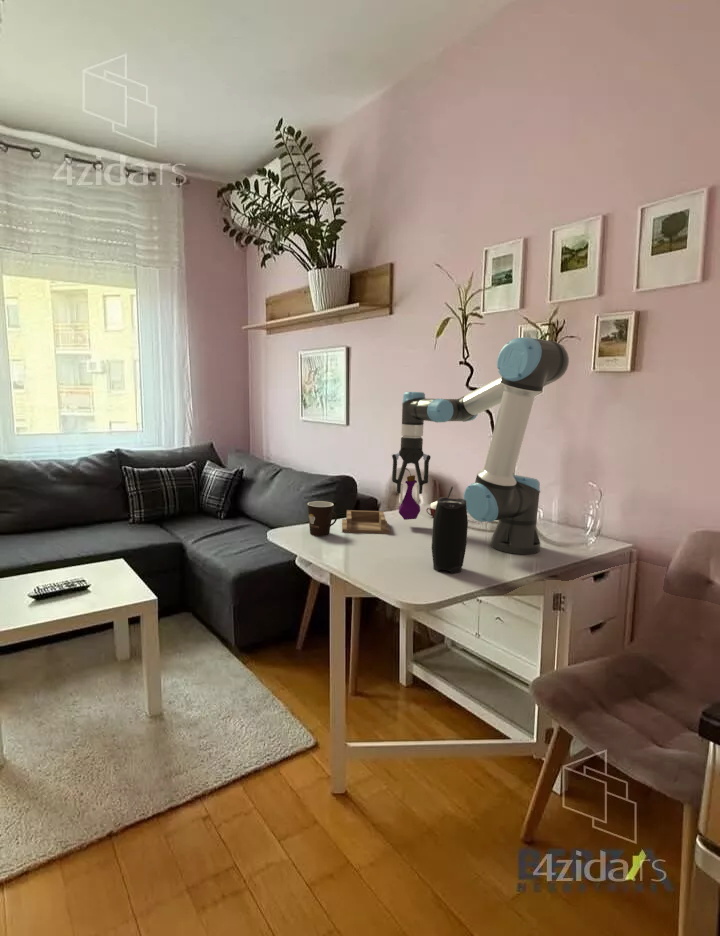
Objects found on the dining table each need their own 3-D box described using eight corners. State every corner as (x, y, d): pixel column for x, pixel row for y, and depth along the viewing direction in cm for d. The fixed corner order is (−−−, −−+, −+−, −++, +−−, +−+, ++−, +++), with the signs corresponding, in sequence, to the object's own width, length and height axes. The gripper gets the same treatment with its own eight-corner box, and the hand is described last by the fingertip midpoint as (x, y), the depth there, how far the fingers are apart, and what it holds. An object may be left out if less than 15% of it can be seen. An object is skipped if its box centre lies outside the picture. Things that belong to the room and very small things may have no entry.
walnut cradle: (389, 533, 190) (390, 520, 189) (342, 532, 189) (342, 519, 189) (386, 523, 204) (387, 511, 203) (342, 521, 203) (342, 509, 202)
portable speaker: (425, 565, 158) (429, 497, 155) (455, 563, 161) (459, 496, 158) (439, 575, 150) (443, 503, 147) (470, 573, 153) (475, 502, 150)
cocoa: (425, 518, 215) (425, 487, 213) (429, 514, 221) (429, 484, 219) (449, 520, 212) (450, 489, 210) (453, 516, 217) (454, 485, 215)
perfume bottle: (420, 514, 203) (416, 465, 200) (421, 519, 195) (416, 468, 193) (399, 516, 203) (395, 467, 201) (399, 521, 196) (394, 470, 193)
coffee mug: (304, 530, 189) (304, 501, 188) (328, 529, 192) (329, 500, 190) (312, 540, 178) (312, 509, 177) (338, 539, 181) (339, 508, 179)
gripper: (436, 436, 199) (432, 501, 203) (385, 435, 199) (382, 499, 202) (439, 438, 192) (436, 505, 195) (386, 436, 191) (384, 504, 194)
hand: (408, 502), depth 198 cm, fingers closed on perfume bottle, 5 cm apart
